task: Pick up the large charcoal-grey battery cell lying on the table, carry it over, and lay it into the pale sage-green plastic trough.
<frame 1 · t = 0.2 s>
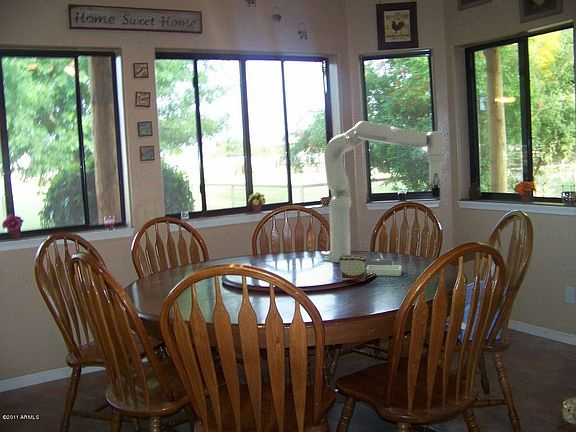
hand: (435, 195, 298), 31 cm above the table, fingers open, 9 cm apart
sage trough: (383, 273, 279), on the table
food container: (354, 280, 268), on the table
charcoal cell: (380, 268, 289), on the table
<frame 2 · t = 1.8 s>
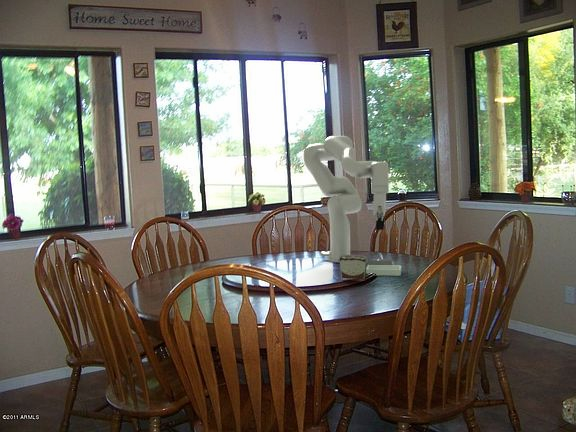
hand: (380, 228, 287), 18 cm above the table, fingers open, 9 cm apart
nothing on the table moved.
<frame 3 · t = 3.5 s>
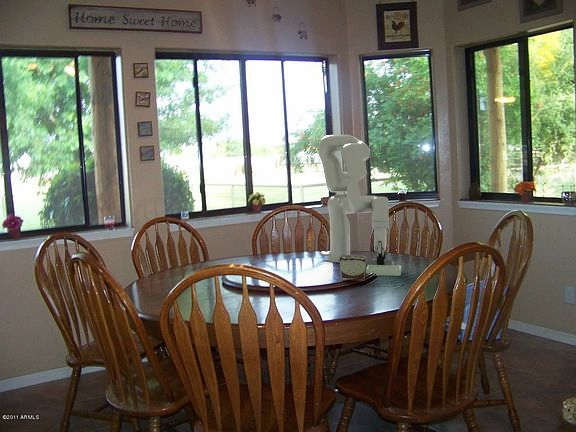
hand: (381, 263, 288), 2 cm above the table, fingers open, 8 cm apart
nothing on the table moved.
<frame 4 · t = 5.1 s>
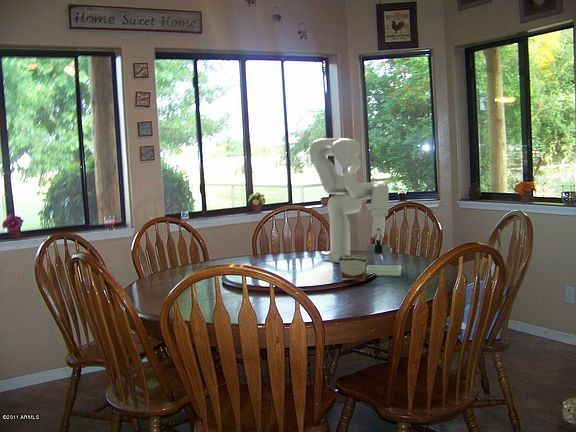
hand: (378, 252, 289), 7 cm above the table, fingers closed on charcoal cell, 4 cm apart
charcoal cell: (378, 254, 289), point 6 cm above the table, touching gripper
everything else where it was.
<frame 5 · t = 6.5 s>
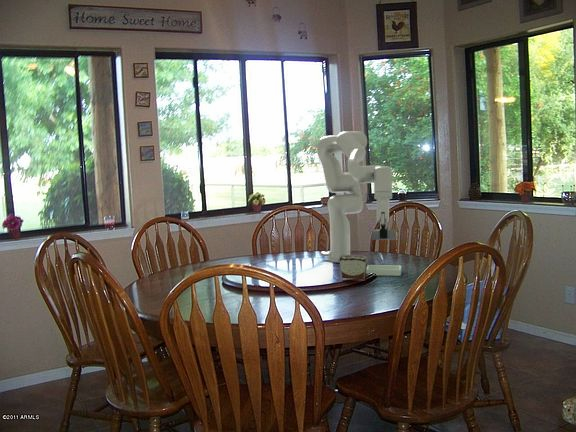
hand: (383, 237, 277), 16 cm above the table, fingers closed on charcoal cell, 4 cm apart
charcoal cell: (383, 239, 277), point 15 cm above the table, touching gripper
everything else where it was.
when the fingers open (3 cm above the table, at t = 9.2 s): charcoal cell drops 2 cm, resting on sage trough.
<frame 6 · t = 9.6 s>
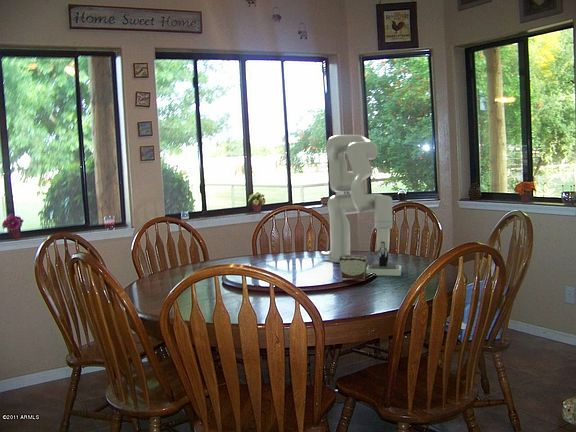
hand: (383, 264, 278), 4 cm above the table, fingers open, 9 cm apart
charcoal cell: (383, 272, 279), resting on sage trough
everything else where it was.
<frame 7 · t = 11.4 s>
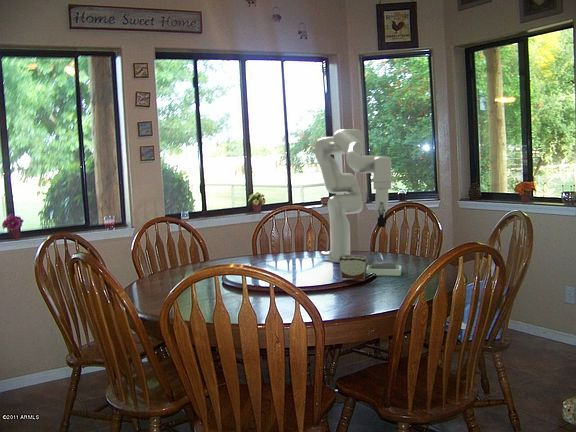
hand: (382, 225, 278), 21 cm above the table, fingers open, 9 cm apart
nothing on the table moved.
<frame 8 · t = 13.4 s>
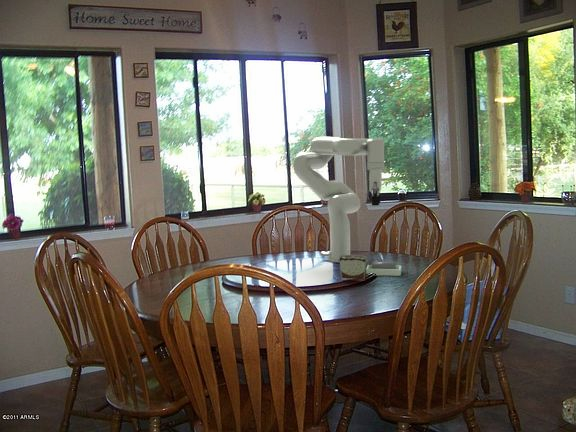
hand: (376, 204, 292), 28 cm above the table, fingers open, 9 cm apart
nothing on the table moved.
at the end: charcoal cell 0.1 cm off-centre on the sage trough, point 0.4 cm above the sage trough's base; the gripper is holding nothing; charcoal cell moved 10.1 cm from its start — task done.
